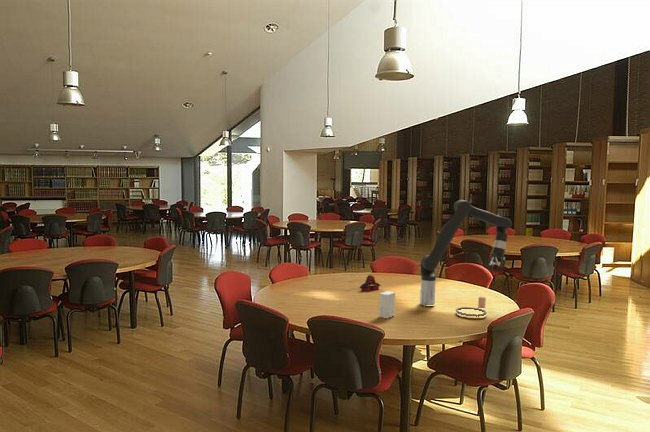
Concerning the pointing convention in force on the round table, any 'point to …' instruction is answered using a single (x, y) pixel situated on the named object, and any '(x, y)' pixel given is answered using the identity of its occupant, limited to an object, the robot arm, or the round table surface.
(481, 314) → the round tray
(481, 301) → the clay spool
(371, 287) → the logo sign
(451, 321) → the round table surface
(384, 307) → the skincare box
